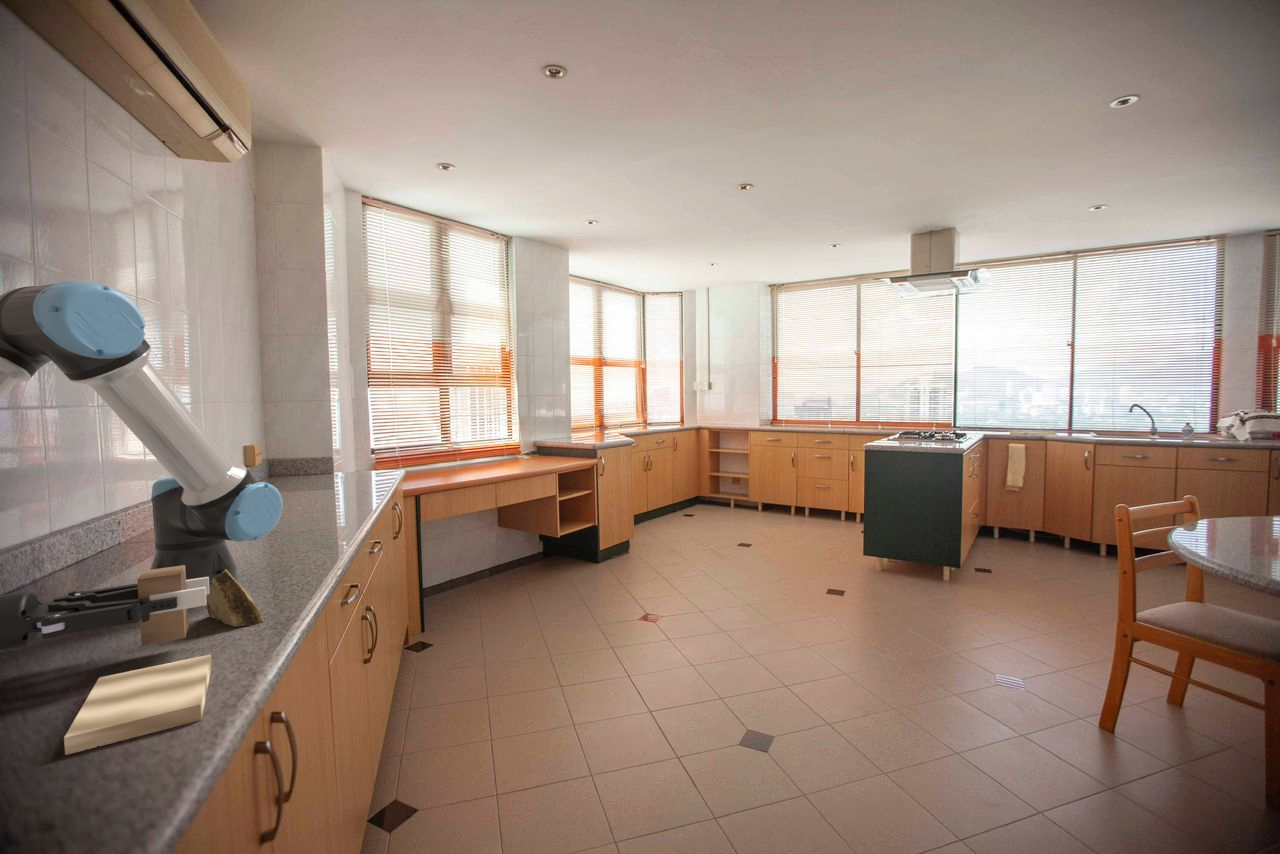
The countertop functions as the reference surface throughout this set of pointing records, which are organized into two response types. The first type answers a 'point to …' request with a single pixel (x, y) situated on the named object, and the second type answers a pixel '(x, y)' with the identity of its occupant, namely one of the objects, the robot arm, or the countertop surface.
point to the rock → (231, 602)
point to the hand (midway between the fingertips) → (207, 590)
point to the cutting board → (140, 703)
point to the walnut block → (168, 622)
